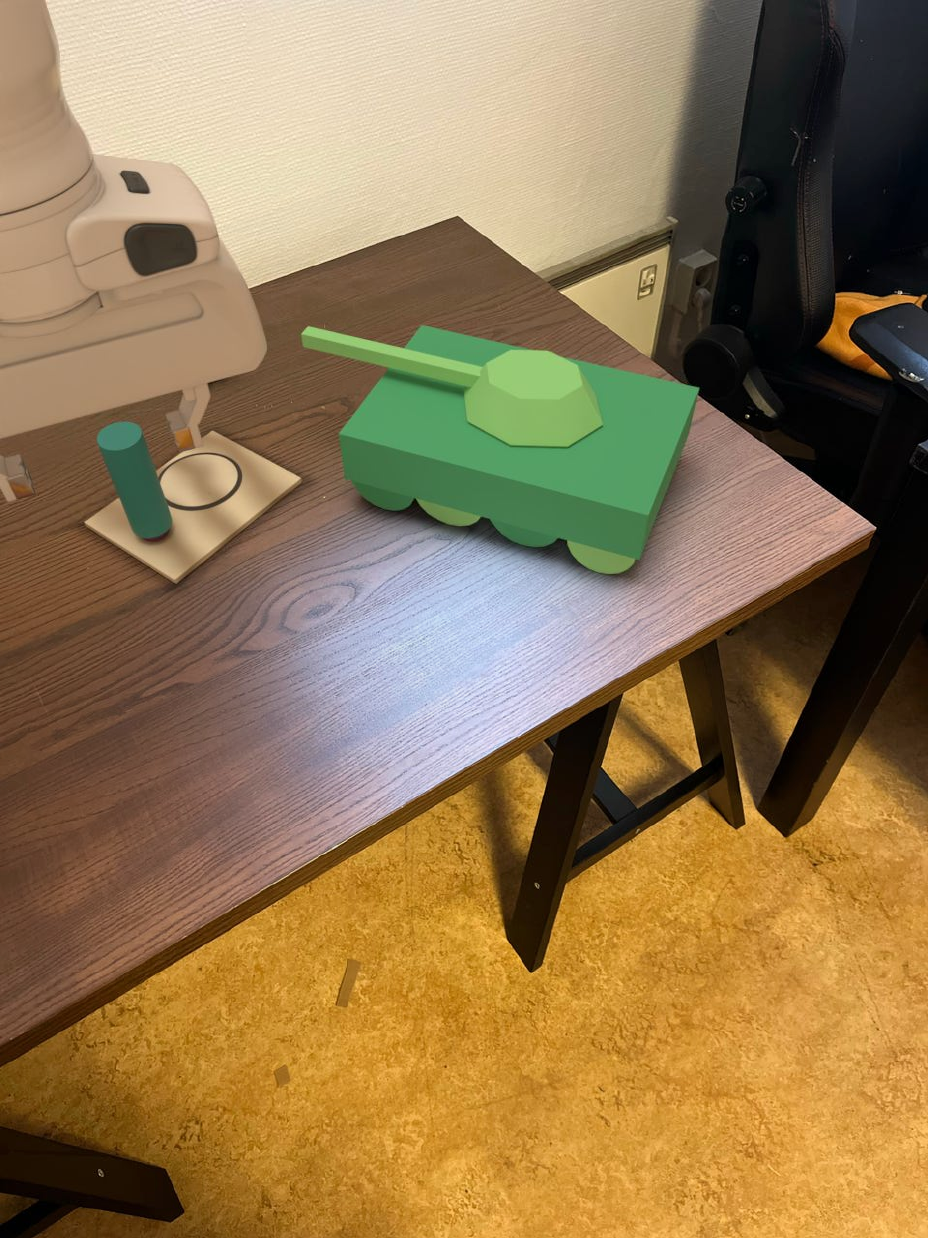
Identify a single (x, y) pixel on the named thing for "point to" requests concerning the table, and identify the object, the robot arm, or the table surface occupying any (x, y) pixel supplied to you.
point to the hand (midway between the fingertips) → (106, 467)
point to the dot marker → (135, 480)
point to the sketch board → (201, 505)
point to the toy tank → (515, 440)
